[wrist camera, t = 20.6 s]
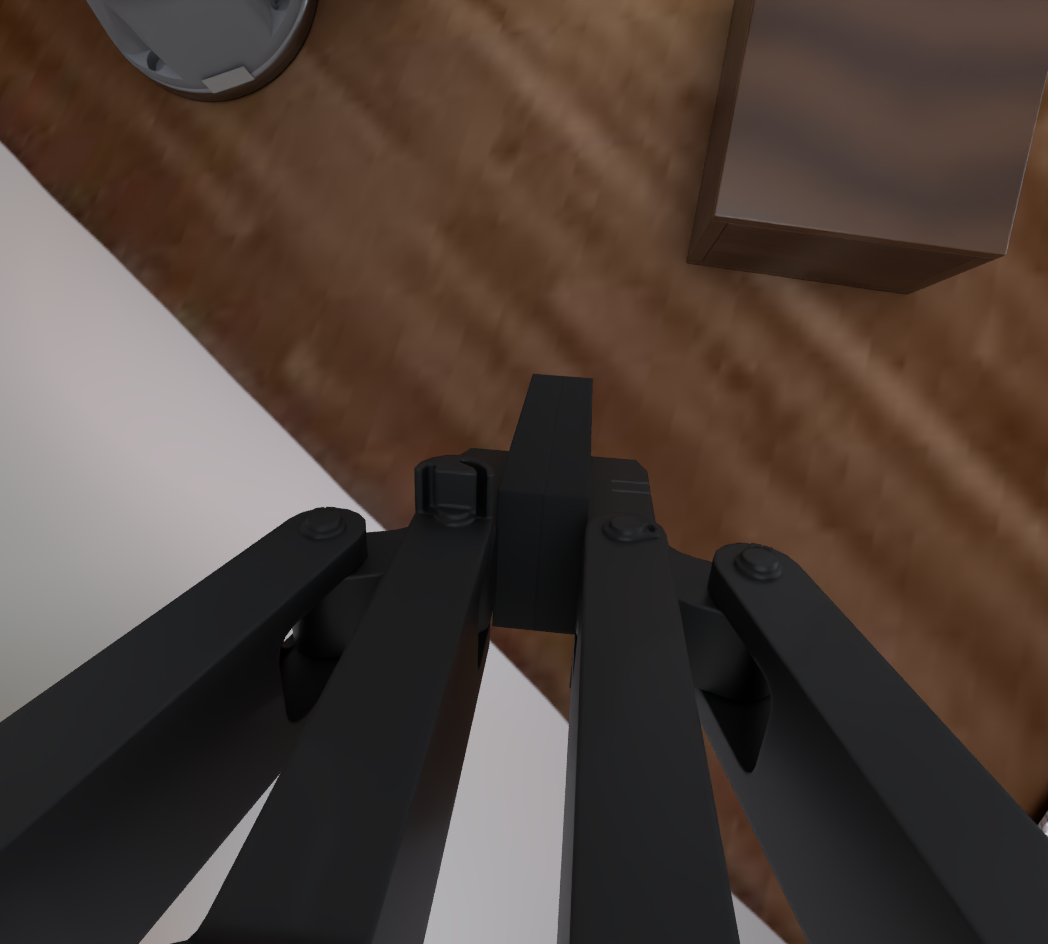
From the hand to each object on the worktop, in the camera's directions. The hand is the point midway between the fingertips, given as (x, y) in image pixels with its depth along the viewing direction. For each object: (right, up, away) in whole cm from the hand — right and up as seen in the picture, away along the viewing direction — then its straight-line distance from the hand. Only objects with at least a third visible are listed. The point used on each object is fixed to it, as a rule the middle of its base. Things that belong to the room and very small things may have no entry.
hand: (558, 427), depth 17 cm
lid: (+17, +19, +16) cm, 31 cm away
